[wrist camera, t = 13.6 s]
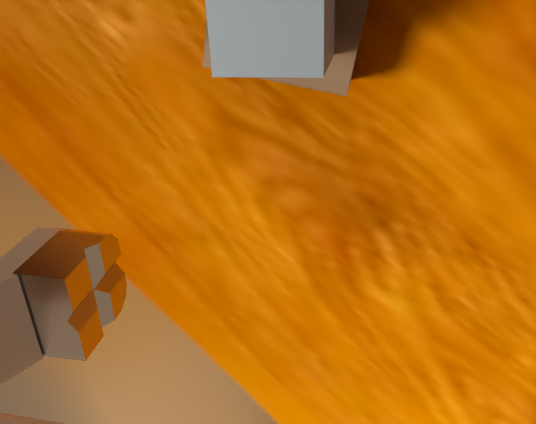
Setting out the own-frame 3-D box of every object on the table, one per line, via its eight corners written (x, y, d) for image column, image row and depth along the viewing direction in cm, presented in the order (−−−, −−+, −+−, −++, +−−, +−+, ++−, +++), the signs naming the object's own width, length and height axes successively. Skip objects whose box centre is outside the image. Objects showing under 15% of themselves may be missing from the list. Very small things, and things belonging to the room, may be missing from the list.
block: (233, -51, 25) (200, -48, 21) (336, -56, 24) (324, -53, 20) (240, 54, 27) (212, 77, 23) (334, 54, 26) (323, 77, 22)
